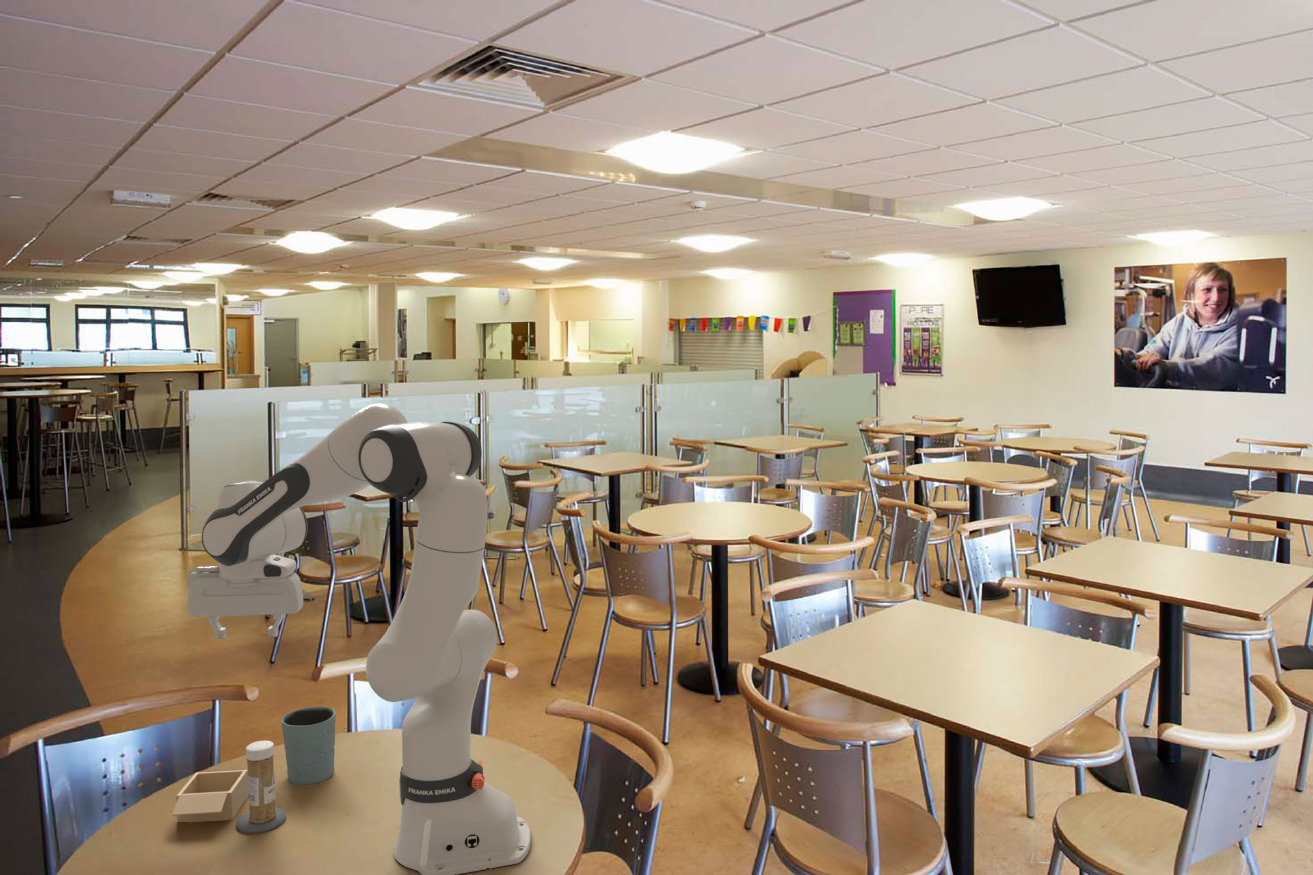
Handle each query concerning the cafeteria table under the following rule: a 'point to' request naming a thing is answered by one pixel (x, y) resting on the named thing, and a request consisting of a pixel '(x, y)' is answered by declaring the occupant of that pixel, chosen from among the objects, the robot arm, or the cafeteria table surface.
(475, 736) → the cafeteria table surface
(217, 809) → the carton
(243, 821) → the coaster
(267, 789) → the sprinkles bottle
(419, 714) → the robot arm
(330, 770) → the teal cup
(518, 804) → the cafeteria table surface
